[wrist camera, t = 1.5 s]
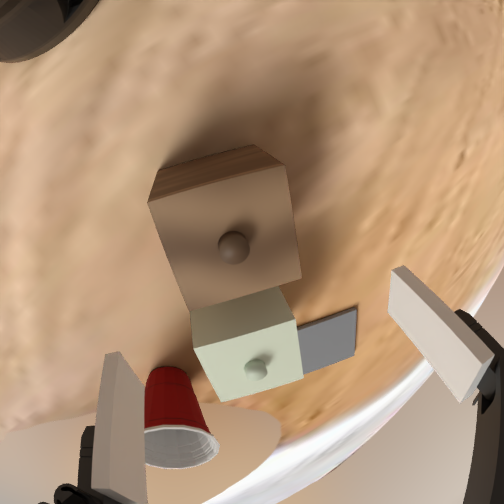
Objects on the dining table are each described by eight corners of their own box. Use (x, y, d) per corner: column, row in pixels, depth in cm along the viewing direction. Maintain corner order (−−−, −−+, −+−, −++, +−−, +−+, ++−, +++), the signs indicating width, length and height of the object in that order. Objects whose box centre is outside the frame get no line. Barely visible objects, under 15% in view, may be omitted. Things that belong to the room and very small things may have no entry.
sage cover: (188, 288, 32) (194, 357, 24) (268, 265, 33) (299, 326, 25) (210, 344, 37) (222, 409, 28) (279, 324, 38) (306, 385, 29)
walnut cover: (157, 170, 26) (145, 208, 17) (253, 144, 27) (290, 168, 18) (185, 255, 30) (189, 319, 22) (271, 230, 31) (306, 285, 23)
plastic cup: (217, 359, 39) (234, 437, 28) (195, 403, 42) (206, 471, 32) (136, 344, 35) (131, 427, 24) (126, 392, 39) (124, 463, 28)
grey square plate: (285, 331, 38) (286, 334, 38) (354, 307, 39) (356, 309, 39) (293, 374, 44) (294, 377, 43) (352, 352, 44) (354, 355, 44)
